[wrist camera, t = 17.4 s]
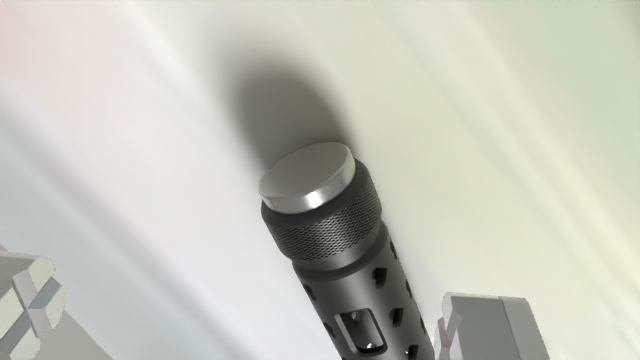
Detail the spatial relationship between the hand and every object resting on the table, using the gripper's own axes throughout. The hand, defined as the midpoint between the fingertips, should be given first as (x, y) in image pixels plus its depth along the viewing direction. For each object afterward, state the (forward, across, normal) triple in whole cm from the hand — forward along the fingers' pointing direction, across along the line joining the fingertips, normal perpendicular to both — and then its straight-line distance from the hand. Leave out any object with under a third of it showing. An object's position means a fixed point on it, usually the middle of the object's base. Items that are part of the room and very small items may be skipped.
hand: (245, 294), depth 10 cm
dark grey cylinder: (+30, -4, +25) cm, 40 cm away
